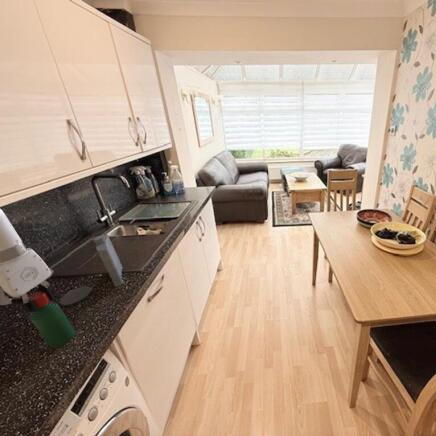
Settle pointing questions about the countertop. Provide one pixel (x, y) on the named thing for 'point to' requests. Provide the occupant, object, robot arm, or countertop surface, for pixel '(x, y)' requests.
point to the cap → (39, 298)
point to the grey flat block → (109, 258)
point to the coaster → (75, 296)
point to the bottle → (52, 325)
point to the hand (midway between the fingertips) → (40, 304)
